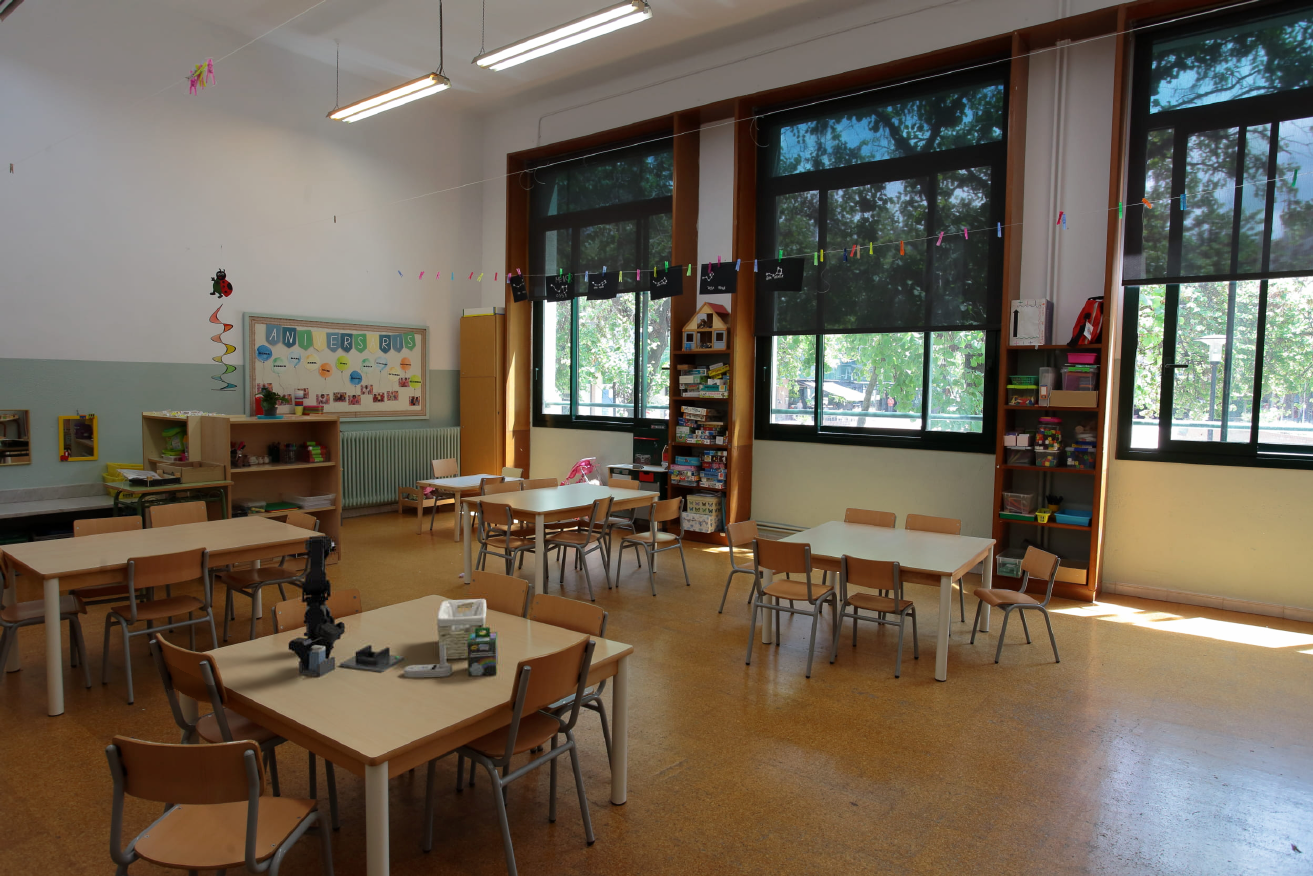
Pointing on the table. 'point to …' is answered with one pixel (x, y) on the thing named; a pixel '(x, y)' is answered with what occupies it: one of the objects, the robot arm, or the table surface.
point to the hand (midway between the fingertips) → (317, 663)
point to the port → (372, 659)
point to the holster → (319, 668)
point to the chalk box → (482, 653)
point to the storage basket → (459, 625)
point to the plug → (316, 656)
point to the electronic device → (430, 668)
